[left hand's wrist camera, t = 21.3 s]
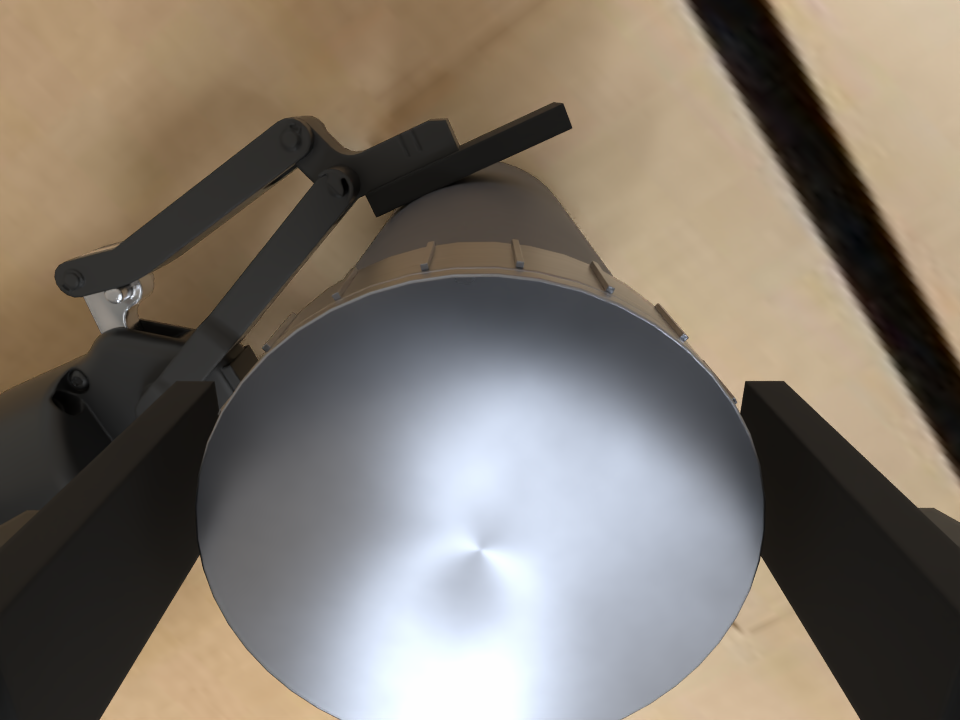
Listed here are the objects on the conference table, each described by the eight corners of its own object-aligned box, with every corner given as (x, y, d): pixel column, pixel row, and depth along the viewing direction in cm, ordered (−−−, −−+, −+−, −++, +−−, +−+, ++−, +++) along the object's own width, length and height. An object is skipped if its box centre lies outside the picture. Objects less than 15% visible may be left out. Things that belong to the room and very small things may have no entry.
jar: (393, 346, 31) (271, 700, 13) (379, 161, 28) (196, 287, 10) (571, 343, 30) (699, 693, 13) (576, 157, 28) (754, 275, 10)
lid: (134, 380, 12) (64, 439, 10) (607, 133, 10) (638, 142, 8) (390, 714, 15) (376, 812, 13) (787, 561, 13) (842, 644, 11)
